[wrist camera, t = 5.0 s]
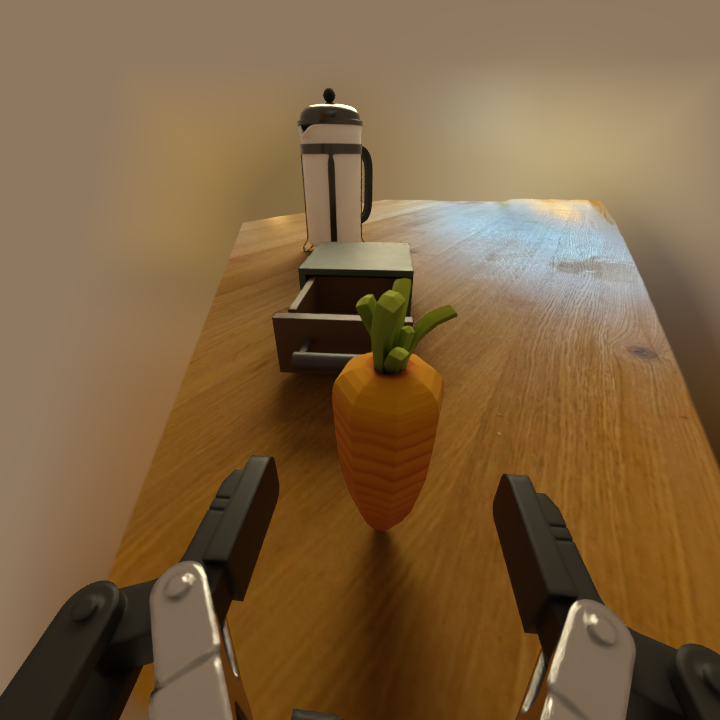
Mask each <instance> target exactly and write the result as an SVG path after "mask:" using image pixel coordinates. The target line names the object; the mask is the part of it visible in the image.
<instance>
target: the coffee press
mask: <svg viewBox="0 0 720 720" xmlns="http://www.w3.org/2000/svg"><path fill="white" fill-rule="evenodd" d="M323 96H324V99H325V101H326V102H327V103H325V104H317V105H311V106H308V107H306V108H305V109H304V110H303V111H302V112H301V115H300V120H299V121H298V126H299V129H300V137H301V145H300V148H301V160H302V174H303V186H304V199H305V211H306V224H307V240H308V234H309V241H310V243H311V244H312V246H311V247H310V248H309V249H308V250H306V249H305V248H304V247H303V249H304V251H306V252H307V251H309V250H310V249H311V248H312V247H313V246H315V247H317V246H318V245H319V244H320V243H321V242H360V238H362V223H363V222H365V221H366V220H367V219H368V217H369V215H370V212H371V208H372V161H371V156H370V154H369V152H368V150H367V149H366V148H365V147H363V146H362V144H361V129H362V126H363V123H362V121H361V120H360V116H359V114H358V112H357V111H356V110H355V109H354V108H352V107H350V106H347V105H341V104H334V103H332V102H333V101H334V99H335V93H334V91H333V90H332V89H331V88H327V89H326V90H325V91H324V95H323ZM302 158H303V159H302ZM362 159H363V162H364V167H365V168H364V169H365V193H364V197H365V198H364V199H365V200H364V210H363V212H362ZM362 241H363V239H362ZM363 242H364V241H363ZM306 243H307V241H306ZM306 243H305V244H306ZM305 244H304V246H305Z"/></svg>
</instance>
